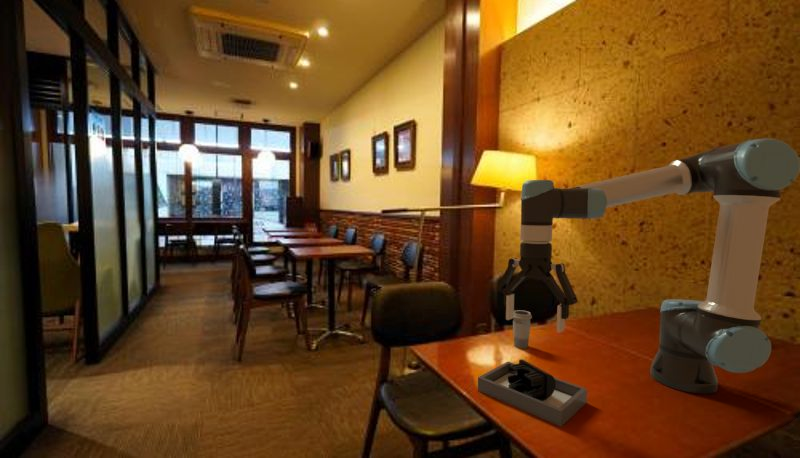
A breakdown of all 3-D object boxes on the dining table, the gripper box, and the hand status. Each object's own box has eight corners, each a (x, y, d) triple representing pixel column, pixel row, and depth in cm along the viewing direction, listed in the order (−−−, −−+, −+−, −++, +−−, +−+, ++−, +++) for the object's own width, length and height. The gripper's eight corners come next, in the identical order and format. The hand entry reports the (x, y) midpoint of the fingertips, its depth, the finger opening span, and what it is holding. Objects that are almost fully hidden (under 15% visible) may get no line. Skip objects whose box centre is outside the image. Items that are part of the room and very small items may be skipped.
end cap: (555, 399, 92) (556, 372, 92) (533, 404, 90) (534, 377, 89) (527, 381, 102) (528, 357, 101) (506, 386, 99) (507, 361, 98)
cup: (528, 351, 125) (529, 316, 124) (508, 347, 129) (509, 313, 128) (533, 345, 131) (534, 311, 130) (514, 341, 135) (515, 308, 134)
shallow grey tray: (586, 402, 93) (587, 388, 93) (560, 426, 82) (561, 411, 82) (507, 373, 109) (507, 361, 108) (477, 390, 98) (478, 377, 98)
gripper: (594, 244, 87) (591, 333, 88) (500, 237, 105) (498, 311, 106) (582, 247, 82) (578, 341, 83) (485, 239, 100) (483, 317, 101)
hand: (533, 324), depth 95 cm, fingers open, 13 cm apart
